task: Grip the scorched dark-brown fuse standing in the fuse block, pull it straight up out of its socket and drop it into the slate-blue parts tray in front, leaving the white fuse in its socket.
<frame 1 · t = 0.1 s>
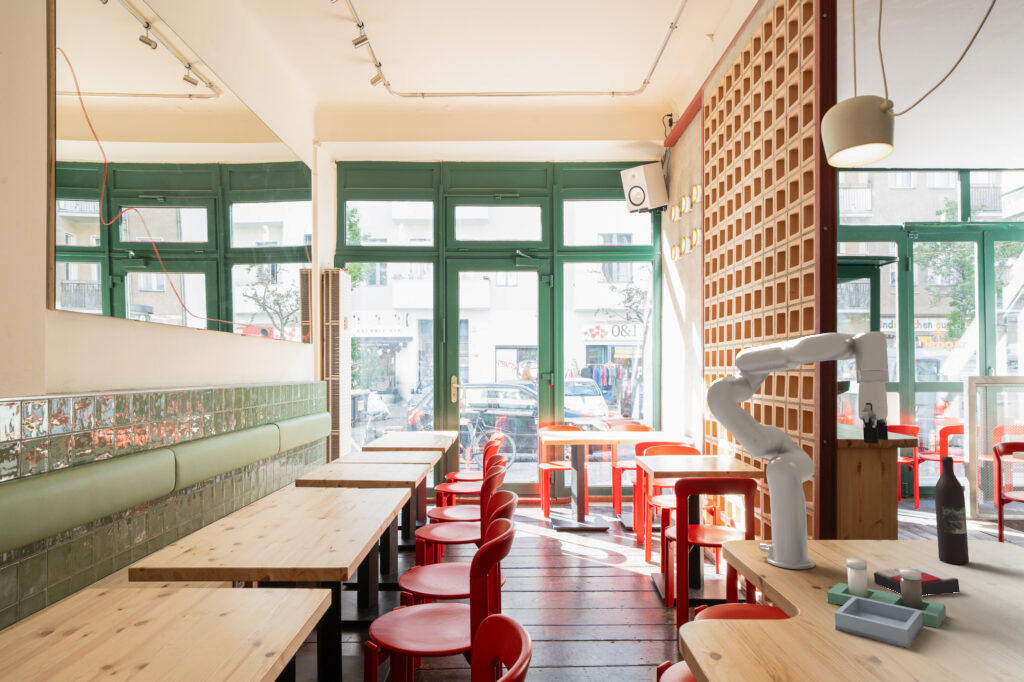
hand: (876, 441, 161), 37 cm above the table, tool pointing down, fingers open, 9 cm apart
blown fuse: (912, 615, 136), resting in fuse block
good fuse: (858, 603, 144), resting in fuse block
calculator: (916, 590, 154), on the table
fuse block: (884, 608, 140), on the table
parts tray: (879, 628, 130), on the table
wine bottle: (953, 562, 174), on the table
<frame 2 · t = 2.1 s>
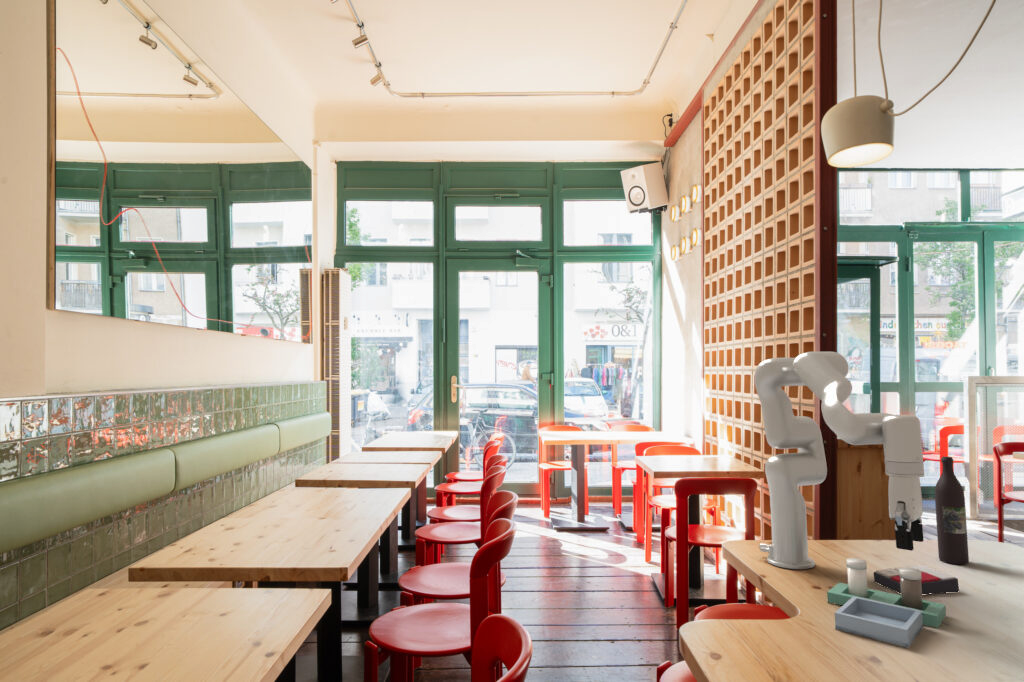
hand: (910, 544, 137), 16 cm above the table, tool pointing down, fingers open, 9 cm apart
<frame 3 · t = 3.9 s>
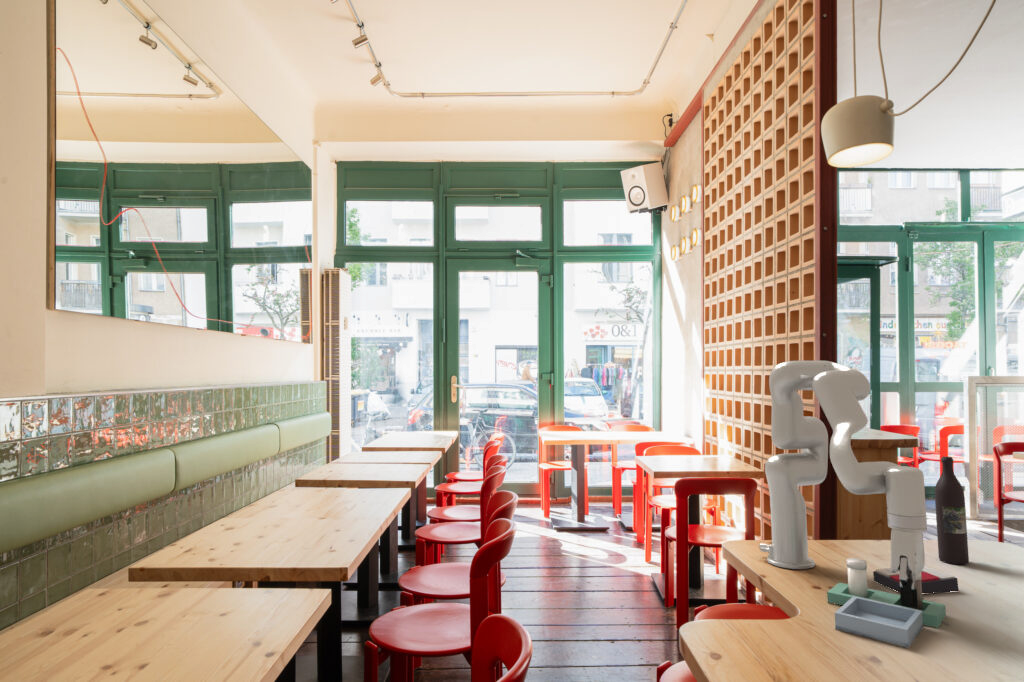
hand: (911, 602, 136), 3 cm above the table, tool pointing down, fingers closed on blown fuse, 4 cm apart
blown fuse: (912, 615, 136), resting in fuse block, touching gripper
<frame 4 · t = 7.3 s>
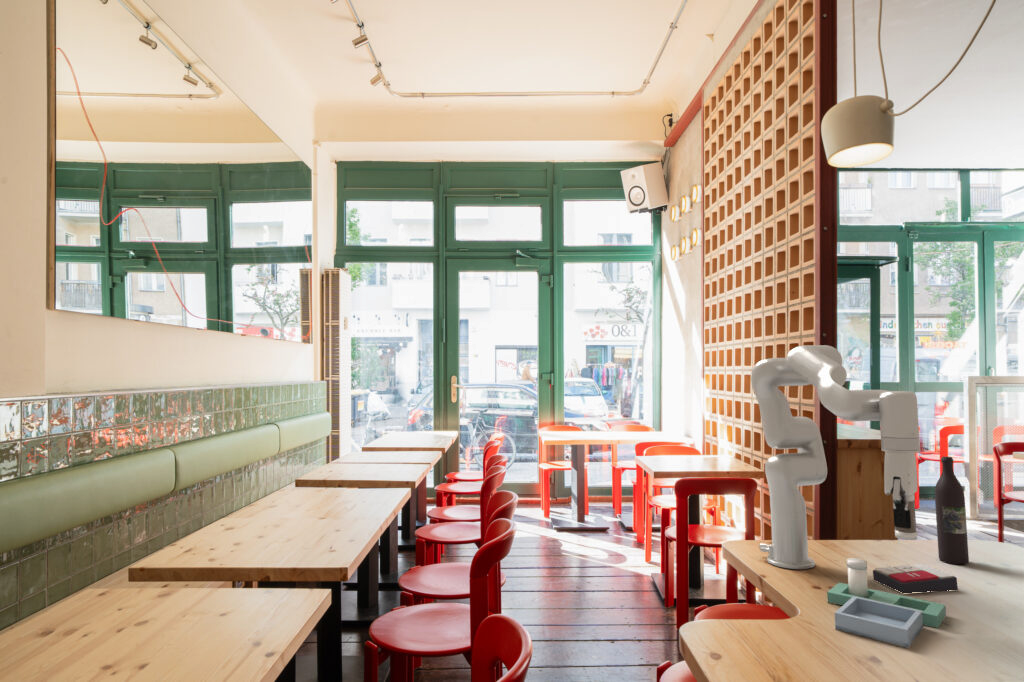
hand: (905, 524, 137), 20 cm above the table, tool pointing down, fingers closed on blown fuse, 4 cm apart
blown fuse: (906, 537, 137), point 17 cm above the table, touching gripper
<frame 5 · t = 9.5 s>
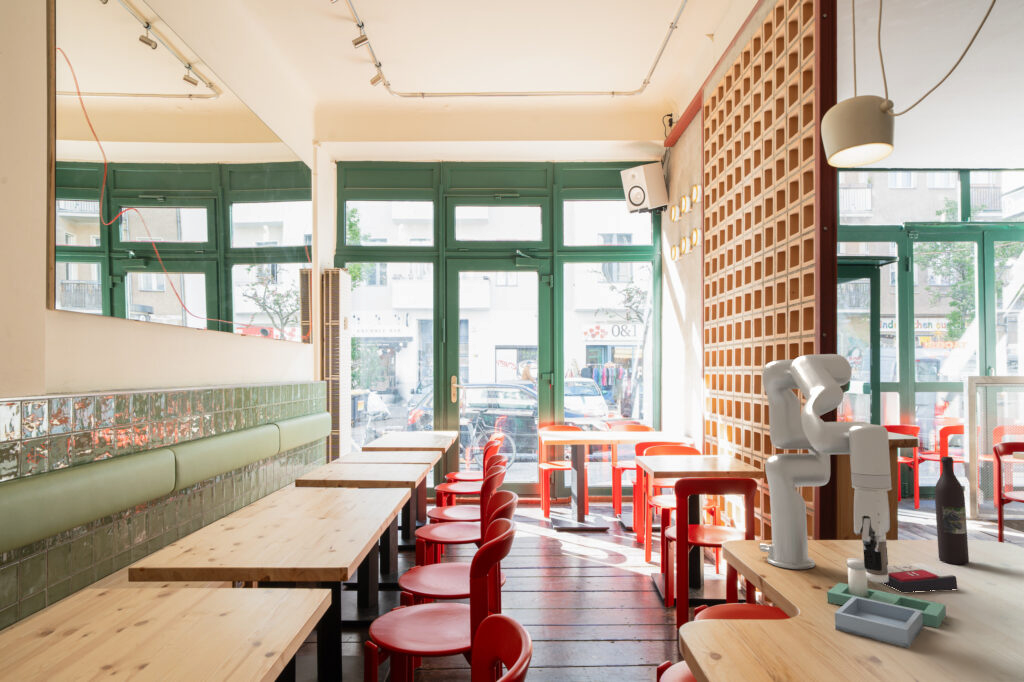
hand: (876, 566, 130), 13 cm above the table, tool pointing down, fingers closed on blown fuse, 4 cm apart
blown fuse: (877, 579, 130), point 10 cm above the table, touching gripper
when the fingers open (6 cm above the table, at t = 11.1 s): blown fuse drops 3 cm, resting on parts tray.
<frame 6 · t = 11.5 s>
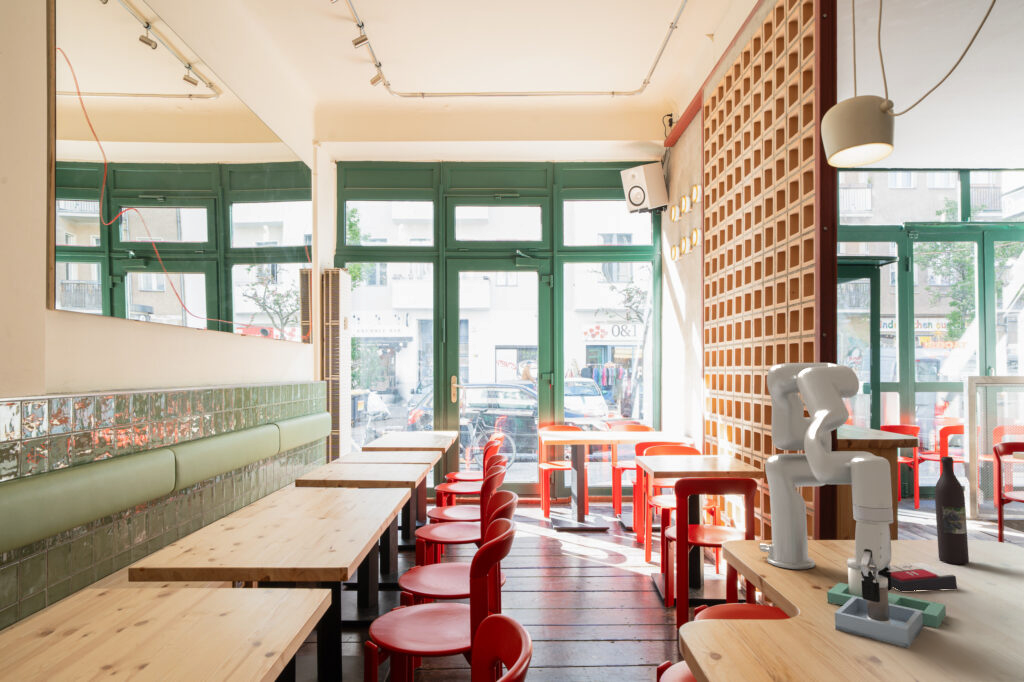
hand: (877, 594, 130), 7 cm above the table, tool pointing down, fingers open, 8 cm apart
blown fuse: (879, 624, 130), point 1 cm above the table, touching parts tray
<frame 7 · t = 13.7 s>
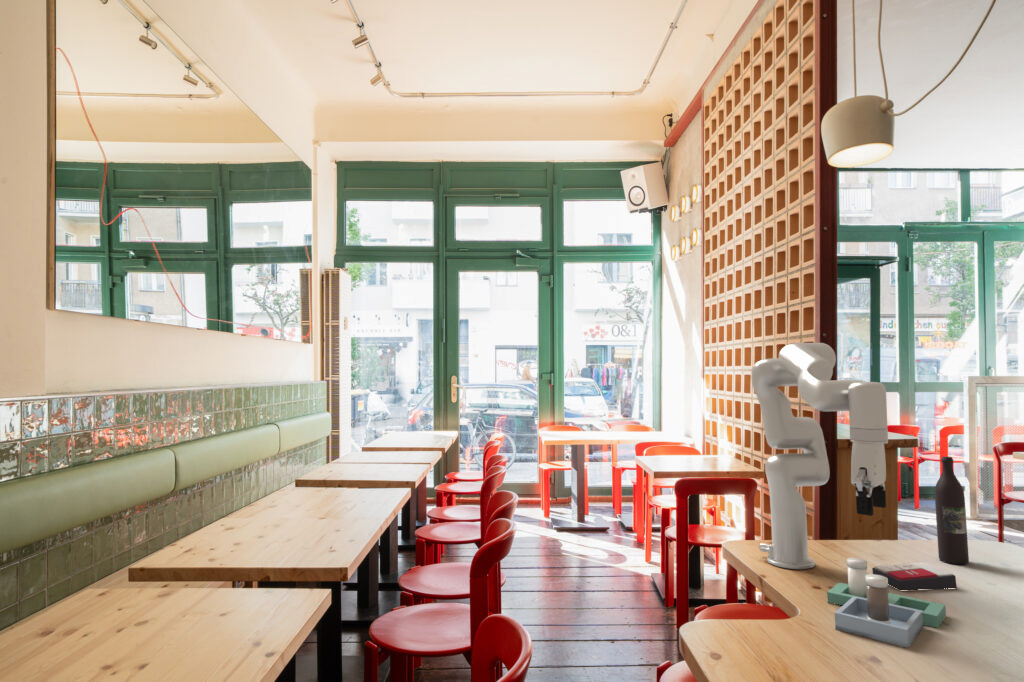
hand: (871, 510, 138), 24 cm above the table, tool pointing down, fingers open, 9 cm apart
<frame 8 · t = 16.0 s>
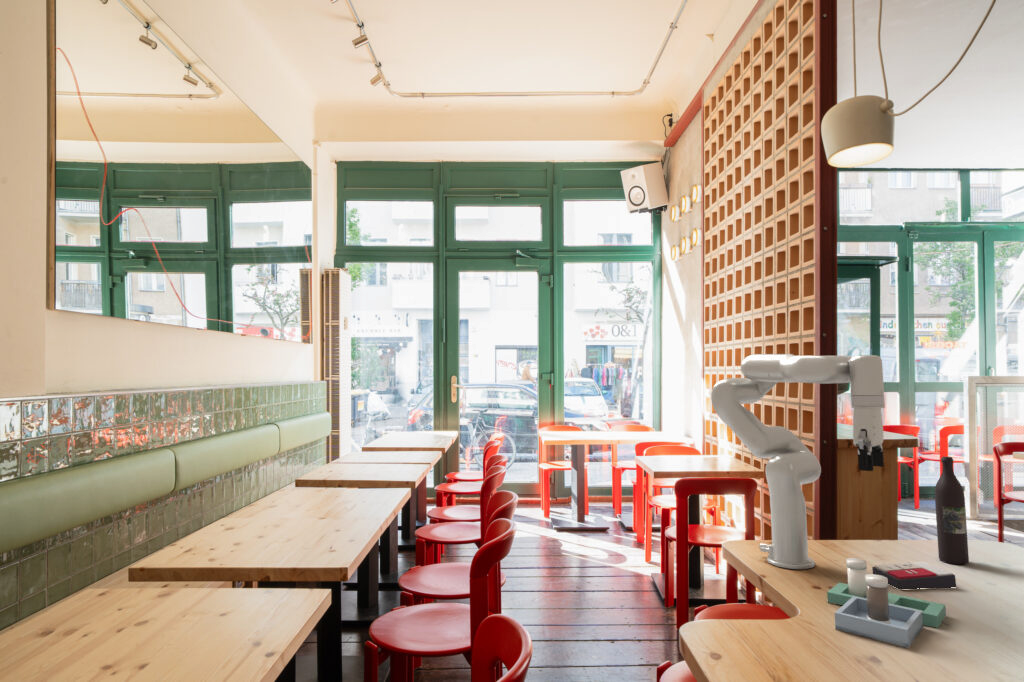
hand: (871, 468, 156), 30 cm above the table, tool pointing down, fingers open, 9 cm apart
at the end: blown fuse inside the target area on the parts tray (0.1 cm from its centre), point 0.8 cm above the parts tray's base; the gripper is holding nothing; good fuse moved 0.0 cm from its start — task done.
